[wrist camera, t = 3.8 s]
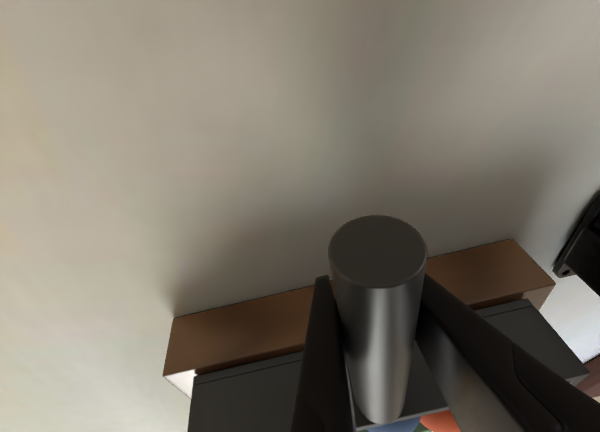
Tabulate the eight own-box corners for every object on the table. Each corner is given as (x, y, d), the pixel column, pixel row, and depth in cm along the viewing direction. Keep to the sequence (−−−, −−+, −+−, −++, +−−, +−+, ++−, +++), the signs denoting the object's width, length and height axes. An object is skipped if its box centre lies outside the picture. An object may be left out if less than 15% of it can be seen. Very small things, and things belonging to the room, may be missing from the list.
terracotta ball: (465, 406, 16) (436, 347, 17) (506, 427, 13) (468, 354, 14) (414, 433, 16) (387, 370, 17) (445, 460, 13) (409, 382, 14)
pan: (473, 391, 22) (505, 450, 20) (262, 441, 22) (265, 506, 20) (633, 111, 8) (822, 184, 5) (57, 248, 8) (-30, 386, 6)
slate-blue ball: (400, 338, 15) (429, 382, 12) (411, 393, 16) (441, 449, 13) (339, 352, 15) (351, 401, 12) (351, 407, 16) (367, 467, 13)
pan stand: (512, 237, 16) (557, 283, 14) (467, 347, 25) (490, 386, 22) (172, 318, 16) (161, 376, 14) (244, 399, 25) (245, 443, 22)
